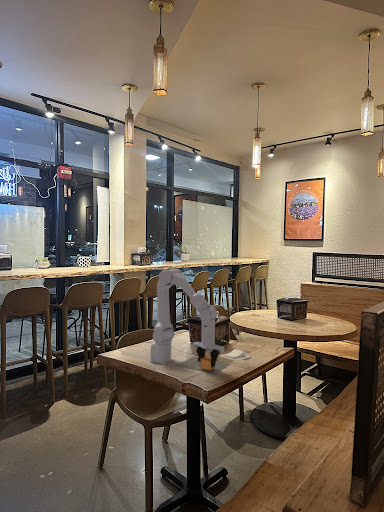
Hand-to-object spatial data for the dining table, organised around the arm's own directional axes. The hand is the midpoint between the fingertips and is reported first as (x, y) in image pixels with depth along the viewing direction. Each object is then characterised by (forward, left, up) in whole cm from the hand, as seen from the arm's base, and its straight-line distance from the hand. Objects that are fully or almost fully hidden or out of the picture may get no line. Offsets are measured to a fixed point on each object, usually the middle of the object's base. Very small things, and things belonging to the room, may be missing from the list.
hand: (207, 365), depth 150 cm
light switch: (+2, +24, -3) cm, 24 cm away
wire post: (-9, +8, -2) cm, 12 cm away
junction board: (-4, +4, -2) cm, 6 cm away
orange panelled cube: (0, 0, -1) cm, 1 cm away
